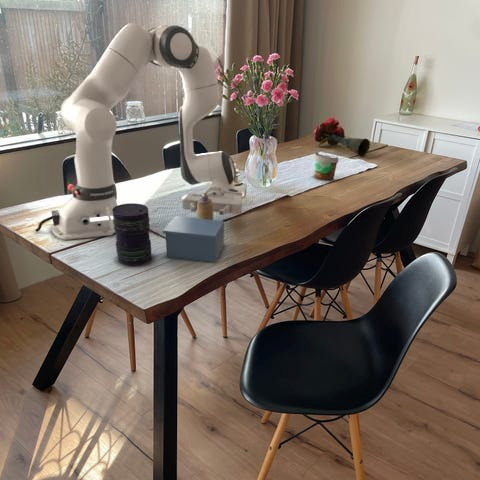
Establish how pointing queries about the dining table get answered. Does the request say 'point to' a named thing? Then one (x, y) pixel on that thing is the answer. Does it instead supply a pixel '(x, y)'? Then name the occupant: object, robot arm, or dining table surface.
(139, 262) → the black cylinder
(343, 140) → the red rose bouquet
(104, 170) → the robot arm
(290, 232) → the dining table surface
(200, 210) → the pepper mill
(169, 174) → the dining table surface
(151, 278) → the dining table surface
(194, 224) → the box lid
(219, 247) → the storage box
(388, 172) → the dining table surface
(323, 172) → the food container
